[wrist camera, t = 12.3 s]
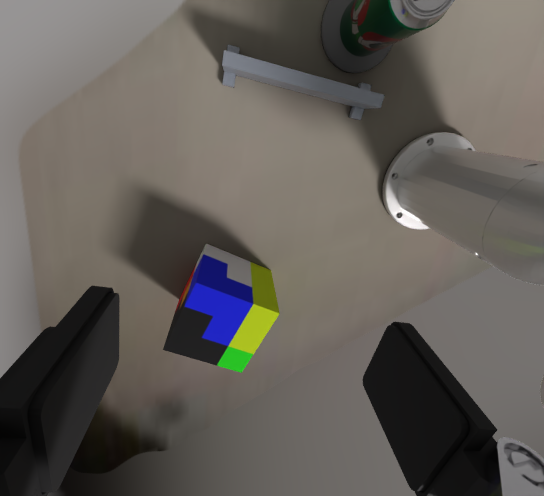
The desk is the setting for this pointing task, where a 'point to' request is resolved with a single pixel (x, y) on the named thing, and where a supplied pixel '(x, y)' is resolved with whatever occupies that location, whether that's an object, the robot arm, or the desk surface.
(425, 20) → the soda can
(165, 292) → the desk surface
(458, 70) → the desk surface
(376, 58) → the coaster
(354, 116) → the divider
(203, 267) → the puzzle toy
